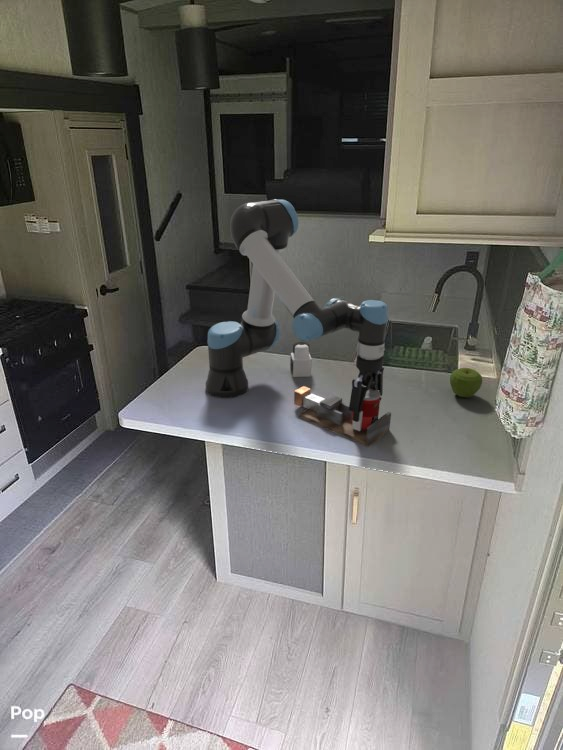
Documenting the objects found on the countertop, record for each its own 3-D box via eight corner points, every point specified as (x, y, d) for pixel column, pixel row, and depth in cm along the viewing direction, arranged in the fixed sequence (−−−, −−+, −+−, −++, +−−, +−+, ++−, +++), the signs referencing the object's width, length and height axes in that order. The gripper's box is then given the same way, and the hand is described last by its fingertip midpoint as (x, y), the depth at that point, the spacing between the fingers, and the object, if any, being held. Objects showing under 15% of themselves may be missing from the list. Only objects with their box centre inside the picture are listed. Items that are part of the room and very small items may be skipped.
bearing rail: (299, 417, 166) (299, 399, 163) (321, 403, 174) (322, 386, 172) (368, 446, 151) (370, 427, 148) (389, 430, 159) (391, 411, 156)
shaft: (294, 403, 171) (294, 391, 169) (303, 398, 174) (303, 386, 172) (331, 419, 162) (331, 405, 160) (339, 413, 165) (340, 400, 163)
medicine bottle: (290, 369, 198) (290, 340, 193) (308, 368, 199) (309, 339, 194) (292, 377, 192) (293, 347, 187) (311, 376, 193) (312, 347, 188)
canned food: (376, 432, 153) (380, 399, 148) (349, 429, 155) (352, 397, 150) (377, 419, 160) (381, 387, 155) (351, 416, 161) (354, 385, 157)
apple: (448, 386, 186) (452, 361, 182) (479, 391, 183) (484, 365, 179) (446, 399, 177) (450, 373, 173) (478, 405, 174) (483, 378, 169)
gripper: (361, 370, 138) (356, 442, 148) (399, 347, 152) (391, 414, 162) (338, 362, 142) (334, 433, 152) (377, 341, 156) (371, 407, 166)
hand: (364, 423), depth 157 cm, fingers closed on canned food, 8 cm apart
